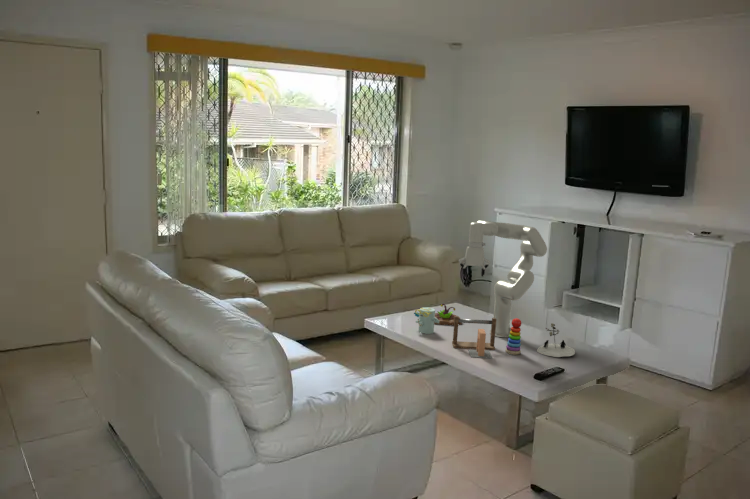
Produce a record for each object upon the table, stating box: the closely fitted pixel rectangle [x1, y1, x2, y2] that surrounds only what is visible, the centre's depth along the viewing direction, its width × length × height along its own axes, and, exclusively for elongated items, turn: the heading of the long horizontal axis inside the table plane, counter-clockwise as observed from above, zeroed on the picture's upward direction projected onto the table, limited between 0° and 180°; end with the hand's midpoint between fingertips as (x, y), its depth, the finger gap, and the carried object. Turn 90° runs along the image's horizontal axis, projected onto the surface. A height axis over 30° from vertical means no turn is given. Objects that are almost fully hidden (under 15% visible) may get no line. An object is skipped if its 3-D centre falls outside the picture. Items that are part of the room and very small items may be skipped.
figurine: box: [536, 323, 576, 358], centre depth 338 cm, size 20×18×16 cm
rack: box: [451, 315, 496, 351], centre depth 341 cm, size 22×8×16 cm, turn 89°
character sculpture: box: [413, 306, 440, 335], centre depth 363 cm, size 20×12×13 cm, turn 43°
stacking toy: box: [505, 318, 522, 356], centre depth 333 cm, size 8×8×19 cm
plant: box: [434, 303, 463, 326], centre depth 388 cm, size 20×20×11 cm
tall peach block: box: [475, 328, 487, 356], centre depth 329 cm, size 3×8×12 cm, turn 177°
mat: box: [467, 349, 493, 359], centre depth 330 cm, size 11×11×1 cm
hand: (473, 275), depth 349 cm, fingers open, 9 cm apart
